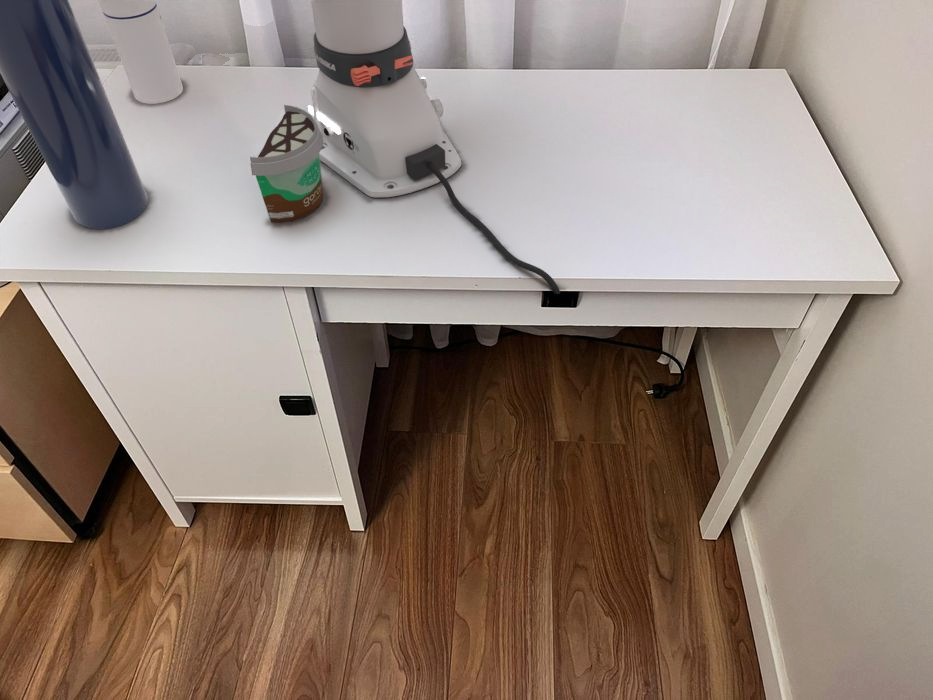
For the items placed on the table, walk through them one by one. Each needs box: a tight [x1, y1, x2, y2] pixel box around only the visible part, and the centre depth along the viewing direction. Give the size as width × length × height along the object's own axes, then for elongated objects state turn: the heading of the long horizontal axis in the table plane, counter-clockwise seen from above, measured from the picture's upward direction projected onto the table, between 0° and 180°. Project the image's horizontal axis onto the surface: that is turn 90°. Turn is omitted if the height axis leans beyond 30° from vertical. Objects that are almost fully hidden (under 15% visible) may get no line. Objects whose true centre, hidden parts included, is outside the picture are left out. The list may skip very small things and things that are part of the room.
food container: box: [249, 104, 324, 224], centre depth 89 cm, size 12×6×10 cm, turn 170°
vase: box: [0, 0, 149, 230], centre depth 79 cm, size 9×9×36 cm
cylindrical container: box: [98, 0, 184, 105], centre depth 101 cm, size 7×7×25 cm
